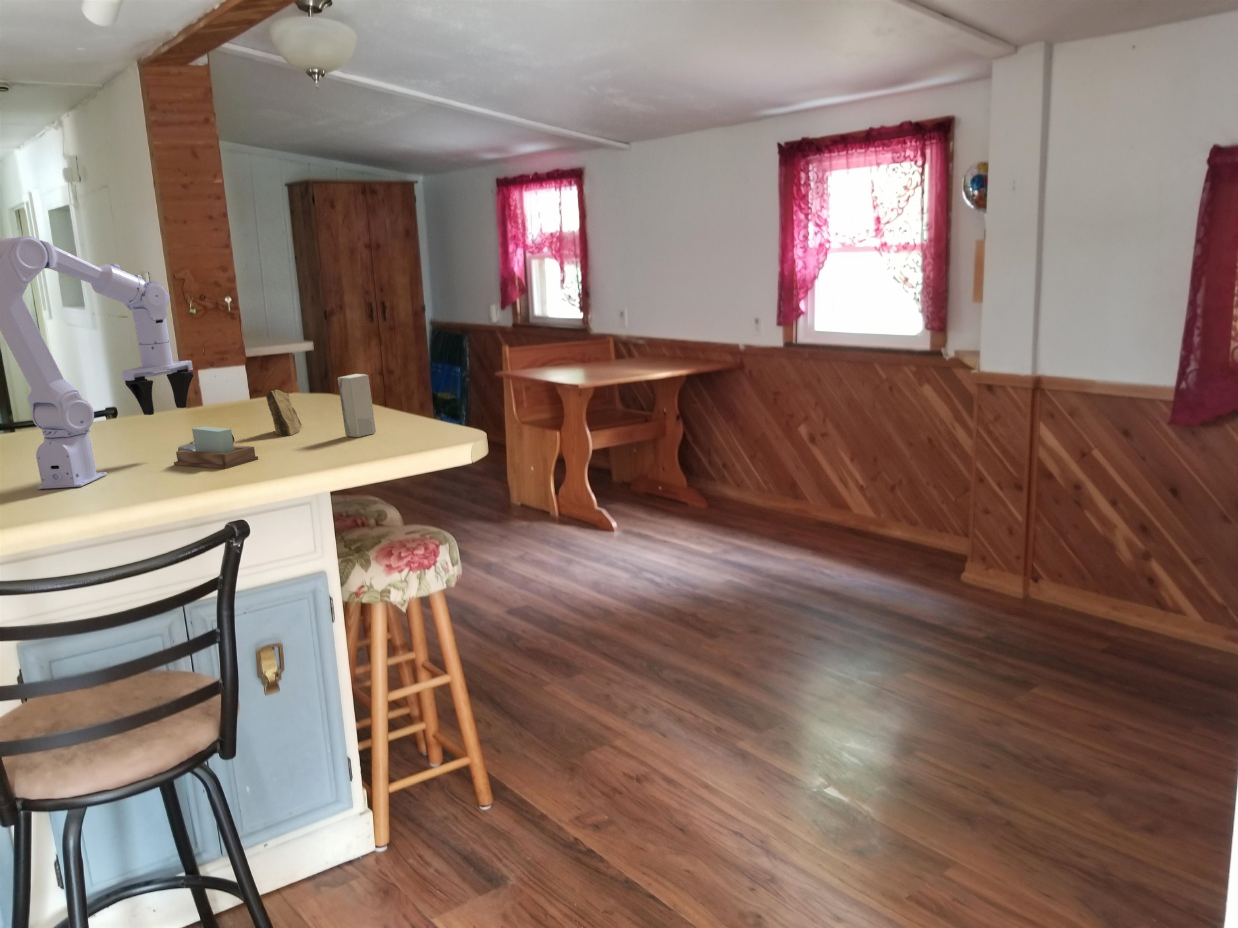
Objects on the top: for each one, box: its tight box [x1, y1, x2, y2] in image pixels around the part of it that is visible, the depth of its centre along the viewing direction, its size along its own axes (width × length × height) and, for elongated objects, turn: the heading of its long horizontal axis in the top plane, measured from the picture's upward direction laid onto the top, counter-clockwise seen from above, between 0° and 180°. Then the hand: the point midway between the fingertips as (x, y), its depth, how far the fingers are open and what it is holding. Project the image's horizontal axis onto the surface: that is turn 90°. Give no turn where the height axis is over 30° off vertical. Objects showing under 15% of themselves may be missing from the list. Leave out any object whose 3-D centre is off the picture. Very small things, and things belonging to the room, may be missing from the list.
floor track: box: [173, 445, 259, 470], centre depth 186 cm, size 14×8×3 cm, turn 63°
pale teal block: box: [191, 425, 235, 453], centre depth 185 cm, size 9×3×6 cm, turn 55°
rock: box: [265, 389, 303, 437], centre depth 215 cm, size 11×9×10 cm
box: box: [337, 373, 377, 438], centre depth 204 cm, size 5×4×13 cm
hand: (165, 411), depth 192 cm, fingers open, 7 cm apart
